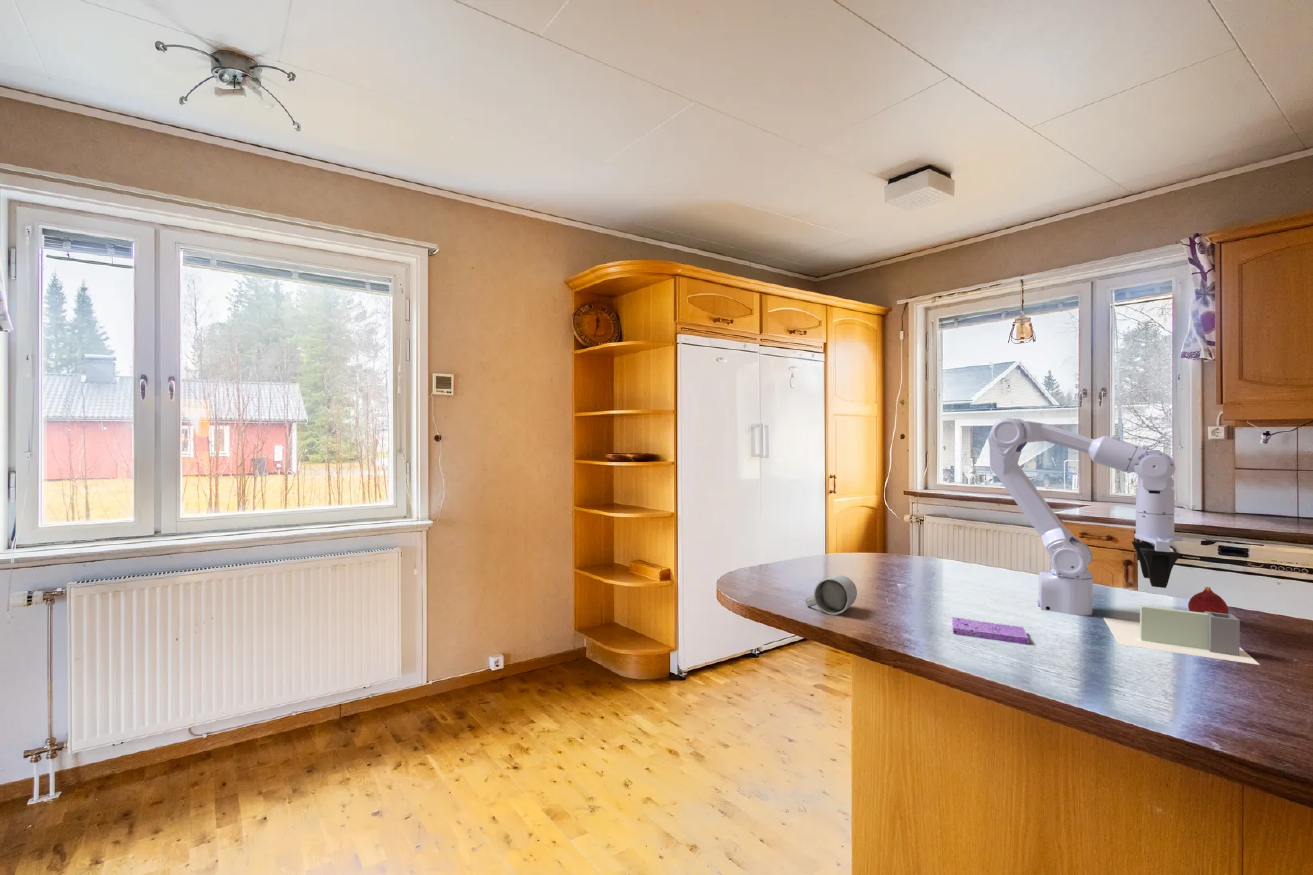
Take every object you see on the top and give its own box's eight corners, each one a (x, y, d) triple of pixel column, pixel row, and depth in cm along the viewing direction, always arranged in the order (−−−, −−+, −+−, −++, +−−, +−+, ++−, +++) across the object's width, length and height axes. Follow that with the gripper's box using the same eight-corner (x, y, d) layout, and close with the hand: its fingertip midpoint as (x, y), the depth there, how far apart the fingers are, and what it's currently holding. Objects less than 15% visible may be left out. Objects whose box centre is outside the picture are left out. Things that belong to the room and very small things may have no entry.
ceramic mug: (859, 607, 129) (858, 573, 129) (849, 617, 122) (848, 581, 122) (811, 601, 135) (811, 567, 135) (799, 610, 128) (799, 575, 128)
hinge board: (1119, 652, 103) (1119, 624, 103) (1102, 624, 118) (1103, 600, 118) (1260, 673, 94) (1260, 642, 94) (1223, 640, 109) (1223, 614, 109)
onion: (1236, 632, 113) (1236, 591, 113) (1201, 630, 114) (1201, 590, 114) (1214, 623, 119) (1214, 584, 119) (1181, 621, 120) (1181, 582, 120)
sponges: (952, 625, 119) (952, 616, 119) (1024, 635, 113) (1024, 625, 113) (952, 636, 113) (952, 626, 113) (1029, 647, 107) (1029, 637, 107)
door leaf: (1142, 642, 104) (1143, 608, 104) (1138, 636, 107) (1138, 603, 107) (1239, 656, 98) (1239, 620, 98) (1231, 649, 101) (1232, 614, 101)
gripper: (1191, 518, 105) (1191, 594, 106) (1173, 509, 118) (1172, 577, 118) (1141, 516, 109) (1141, 588, 109) (1128, 507, 122) (1128, 572, 122)
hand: (1154, 582), depth 114 cm, fingers open, 7 cm apart
